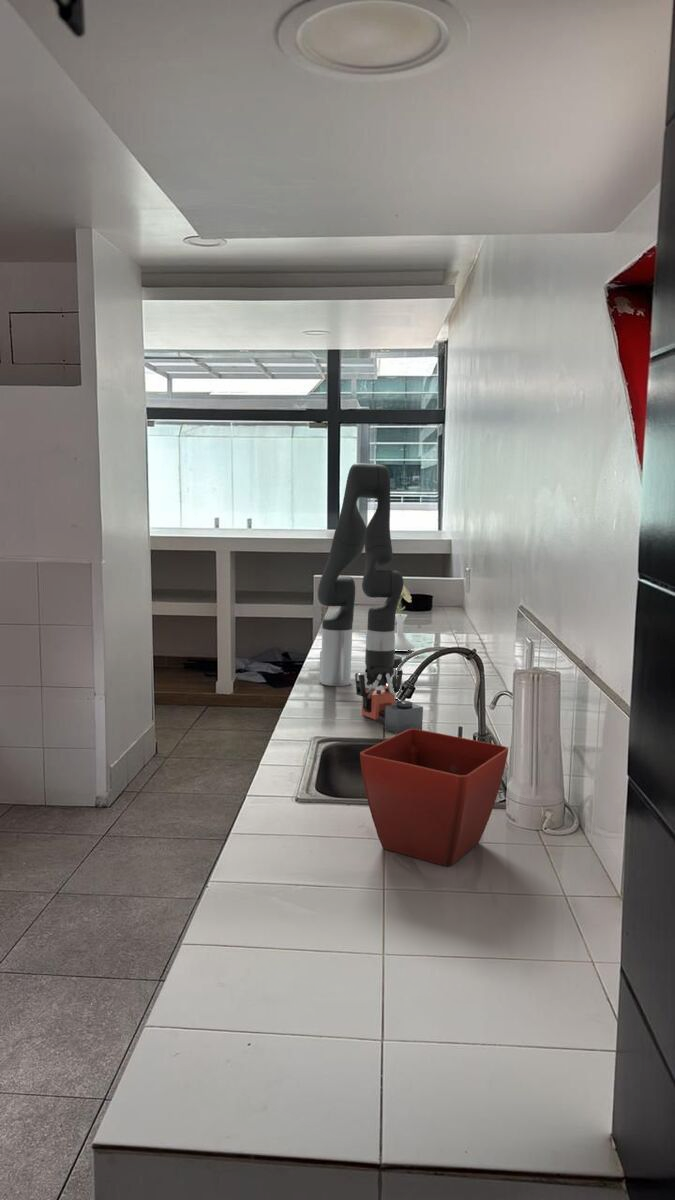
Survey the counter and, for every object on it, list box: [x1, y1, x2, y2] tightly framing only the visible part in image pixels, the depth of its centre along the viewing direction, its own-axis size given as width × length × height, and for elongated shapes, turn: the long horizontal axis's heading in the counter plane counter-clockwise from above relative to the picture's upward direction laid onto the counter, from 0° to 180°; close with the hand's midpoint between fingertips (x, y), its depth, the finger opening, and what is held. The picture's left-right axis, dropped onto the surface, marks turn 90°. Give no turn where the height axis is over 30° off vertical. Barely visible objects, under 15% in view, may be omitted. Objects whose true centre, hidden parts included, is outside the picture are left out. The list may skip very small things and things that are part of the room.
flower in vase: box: [395, 585, 415, 651], centre depth 327 cm, size 13×11×25 cm
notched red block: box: [361, 690, 396, 721], centre depth 227 cm, size 6×6×7 cm
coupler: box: [362, 700, 424, 735], centre depth 224 cm, size 19×8×7 cm, turn 34°
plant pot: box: [359, 729, 509, 867], centre depth 146 cm, size 19×19×17 cm
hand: (377, 710), depth 228 cm, fingers closed on notched red block, 6 cm apart
